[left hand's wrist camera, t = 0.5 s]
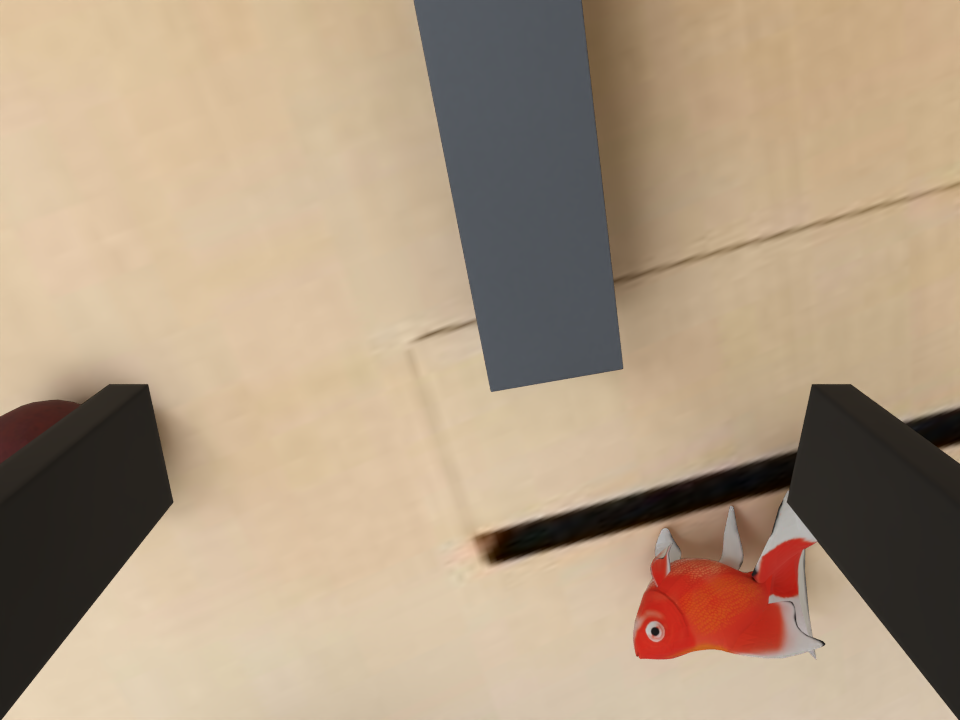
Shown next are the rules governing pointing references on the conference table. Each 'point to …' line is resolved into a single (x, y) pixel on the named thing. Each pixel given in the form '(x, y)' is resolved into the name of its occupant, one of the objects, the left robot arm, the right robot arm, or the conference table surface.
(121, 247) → the conference table surface
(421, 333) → the conference table surface
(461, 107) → the bar
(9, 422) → the potato
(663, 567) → the fish
